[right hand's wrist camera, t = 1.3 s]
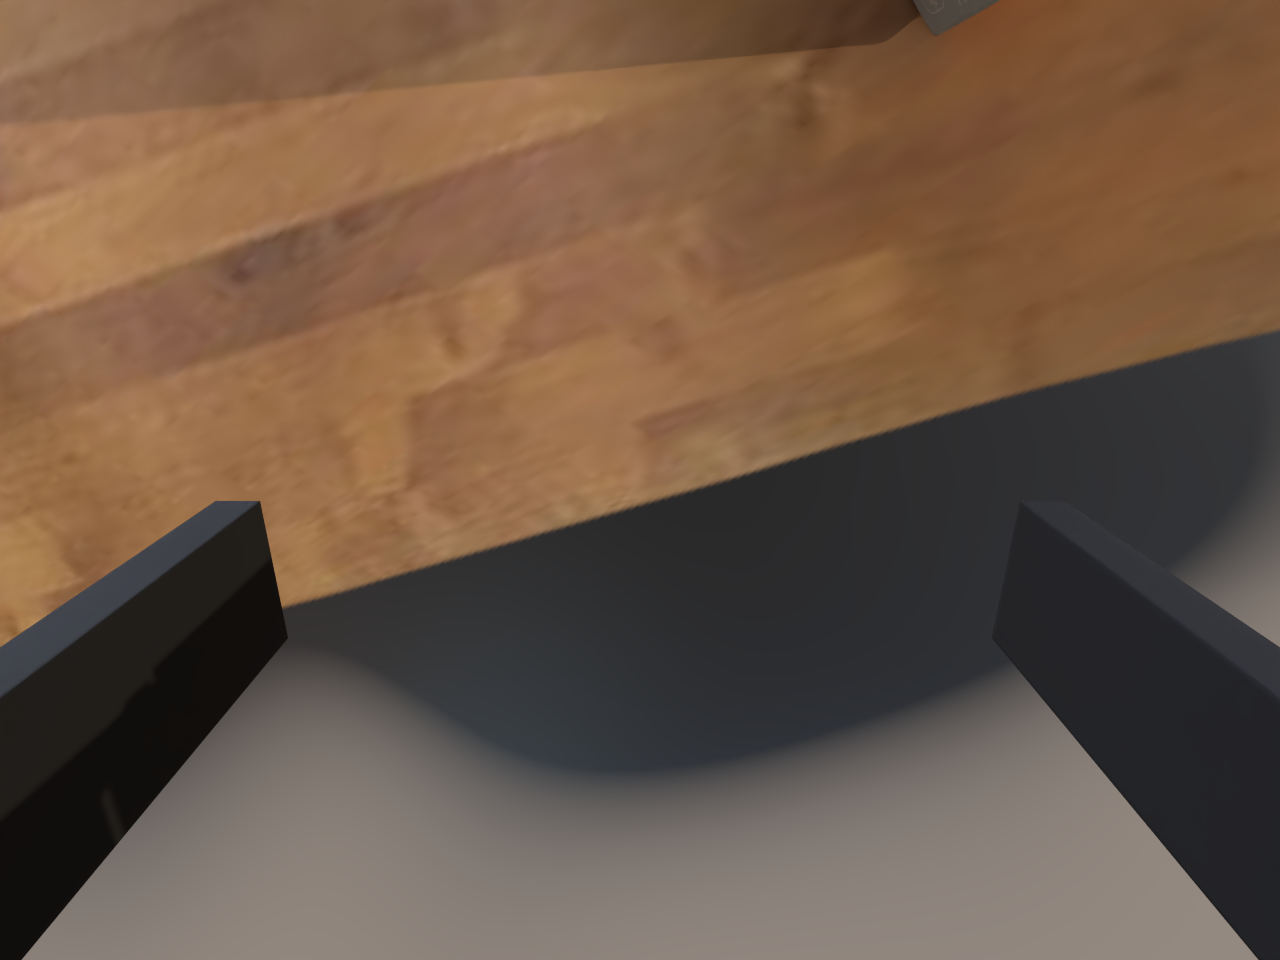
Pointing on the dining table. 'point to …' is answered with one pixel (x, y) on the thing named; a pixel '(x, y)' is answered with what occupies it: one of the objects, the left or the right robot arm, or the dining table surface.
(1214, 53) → the dining table surface
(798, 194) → the dining table surface
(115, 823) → the right robot arm
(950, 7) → the hard drive box
